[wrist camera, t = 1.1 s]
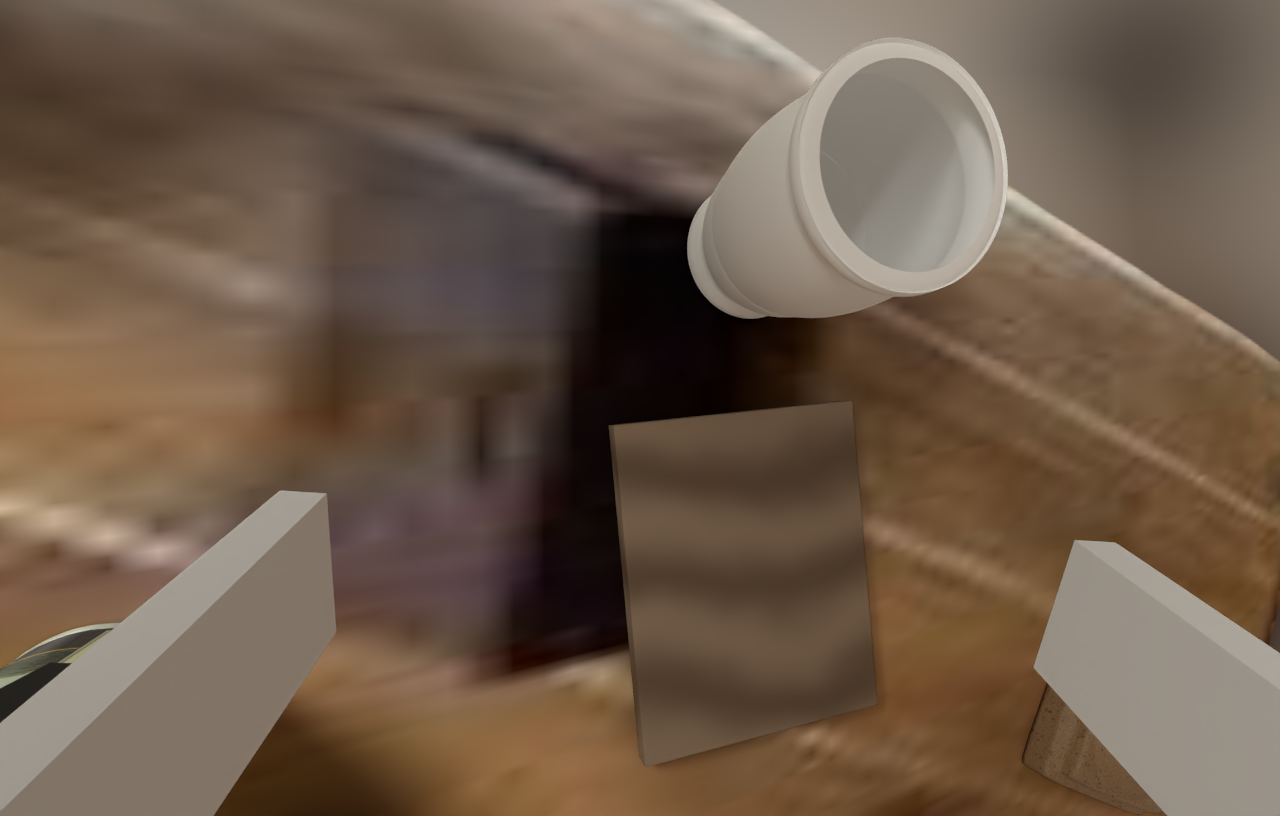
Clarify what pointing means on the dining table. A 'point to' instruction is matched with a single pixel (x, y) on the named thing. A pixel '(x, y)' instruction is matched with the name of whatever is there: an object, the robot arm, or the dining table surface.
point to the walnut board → (742, 574)
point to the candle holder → (1080, 758)
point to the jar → (856, 190)
